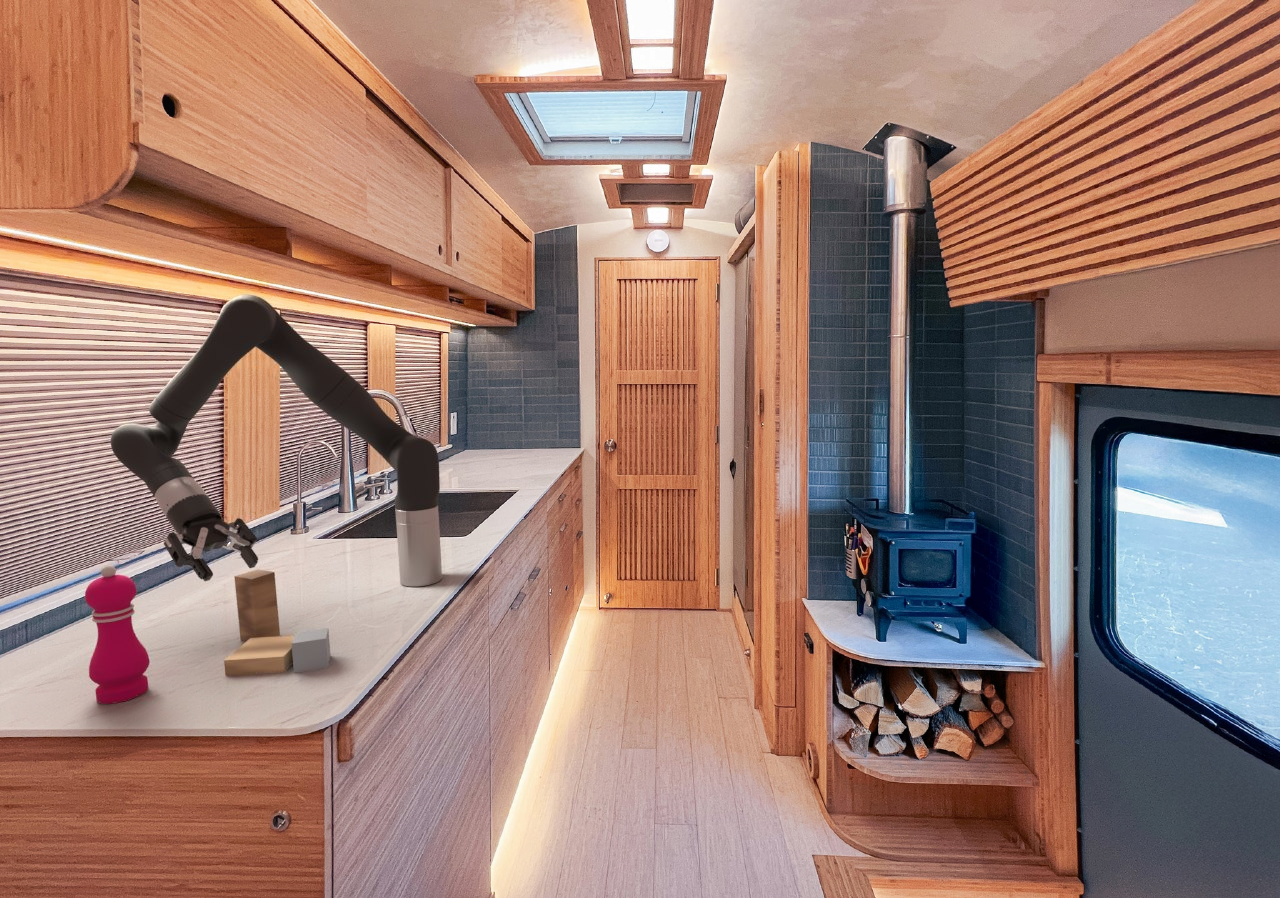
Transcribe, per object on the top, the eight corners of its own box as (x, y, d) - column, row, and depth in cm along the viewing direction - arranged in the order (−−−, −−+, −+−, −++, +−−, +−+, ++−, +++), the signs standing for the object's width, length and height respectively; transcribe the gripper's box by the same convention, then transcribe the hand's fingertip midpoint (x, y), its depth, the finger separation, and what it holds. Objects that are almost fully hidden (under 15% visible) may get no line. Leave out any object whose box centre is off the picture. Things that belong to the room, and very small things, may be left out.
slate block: (297, 661, 112) (295, 632, 112) (330, 655, 114) (328, 627, 113) (294, 673, 108) (291, 643, 107) (328, 667, 109) (325, 638, 109)
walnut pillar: (240, 640, 121) (234, 576, 120) (263, 631, 125) (257, 569, 124) (257, 644, 119) (251, 579, 118) (280, 635, 123) (274, 571, 122)
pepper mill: (133, 680, 106) (119, 557, 104) (163, 687, 103) (149, 561, 101) (81, 701, 100) (64, 570, 97) (111, 709, 97) (95, 575, 94)
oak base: (251, 654, 116) (250, 638, 116) (306, 651, 117) (304, 634, 117) (225, 678, 107) (223, 660, 107) (285, 674, 108) (283, 656, 108)
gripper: (154, 500, 119) (201, 569, 116) (231, 487, 132) (276, 549, 128) (139, 527, 122) (185, 595, 118) (216, 511, 135) (260, 573, 131)
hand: (232, 571), depth 123 cm, fingers open, 8 cm apart
